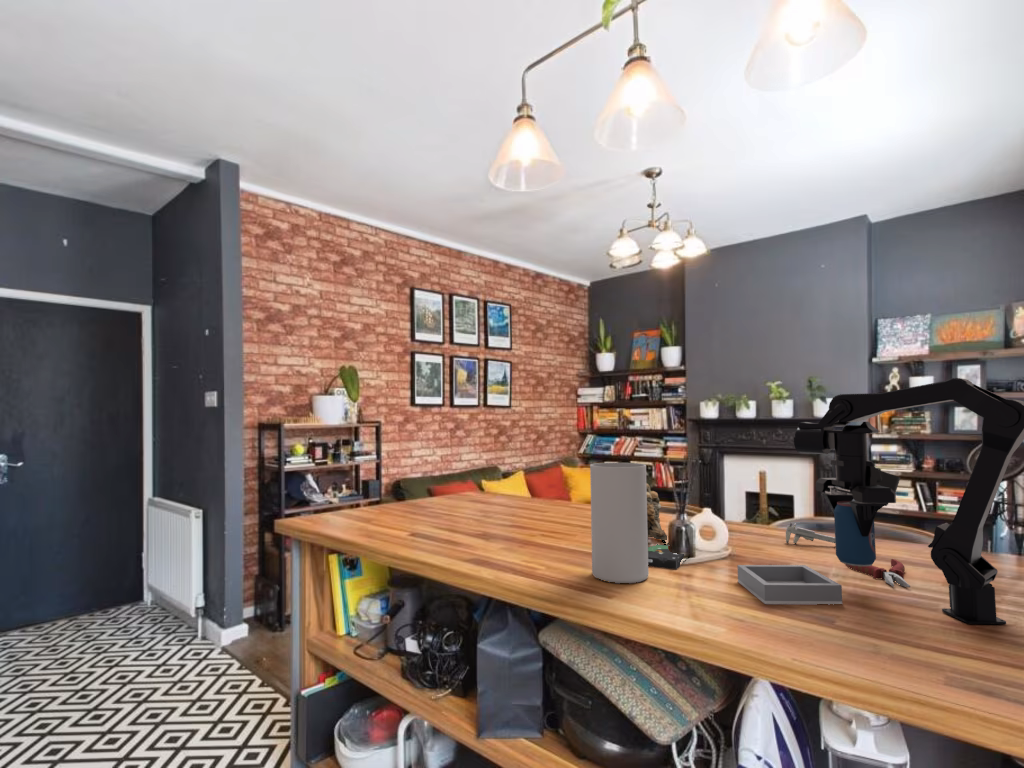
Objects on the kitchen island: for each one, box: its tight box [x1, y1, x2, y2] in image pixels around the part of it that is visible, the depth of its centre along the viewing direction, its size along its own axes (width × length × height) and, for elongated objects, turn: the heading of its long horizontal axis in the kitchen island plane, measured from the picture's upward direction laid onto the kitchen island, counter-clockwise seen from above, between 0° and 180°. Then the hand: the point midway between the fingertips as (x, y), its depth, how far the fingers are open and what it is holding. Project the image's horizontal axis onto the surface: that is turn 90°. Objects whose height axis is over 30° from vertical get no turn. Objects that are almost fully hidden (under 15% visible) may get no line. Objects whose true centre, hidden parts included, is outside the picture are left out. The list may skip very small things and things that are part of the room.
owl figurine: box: [646, 482, 668, 542], centre depth 160 cm, size 18×12×17 cm, turn 158°
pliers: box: [845, 558, 911, 588], centre depth 124 cm, size 12×20×3 cm, turn 163°
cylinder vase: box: [589, 462, 650, 584], centre depth 126 cm, size 12×12×25 cm
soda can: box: [833, 501, 877, 566], centre depth 113 cm, size 7×7×12 cm
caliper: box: [785, 522, 835, 544], centre depth 153 cm, size 20×1×6 cm, turn 69°
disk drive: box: [648, 544, 684, 570], centre depth 140 cm, size 10×3×15 cm
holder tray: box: [737, 564, 843, 606], centre depth 113 cm, size 14×14×4 cm
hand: (854, 532), depth 113 cm, fingers closed on soda can, 7 cm apart
